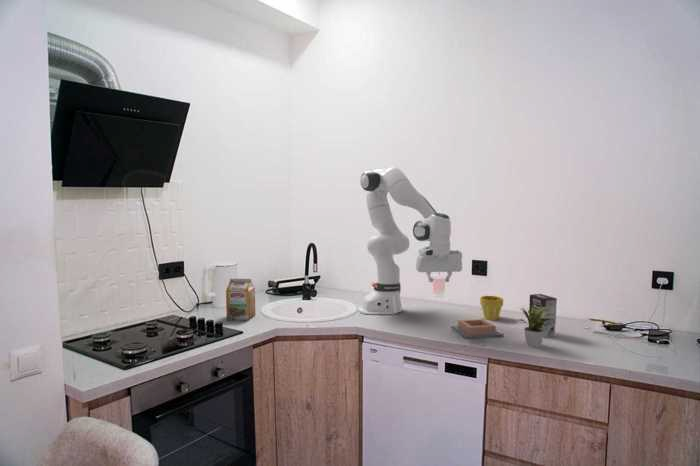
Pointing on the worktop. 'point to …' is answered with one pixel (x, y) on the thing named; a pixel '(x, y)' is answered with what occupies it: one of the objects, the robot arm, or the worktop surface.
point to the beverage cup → (438, 285)
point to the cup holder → (476, 329)
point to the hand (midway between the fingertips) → (438, 281)
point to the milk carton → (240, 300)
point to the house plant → (534, 327)
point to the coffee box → (545, 311)
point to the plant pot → (491, 306)
